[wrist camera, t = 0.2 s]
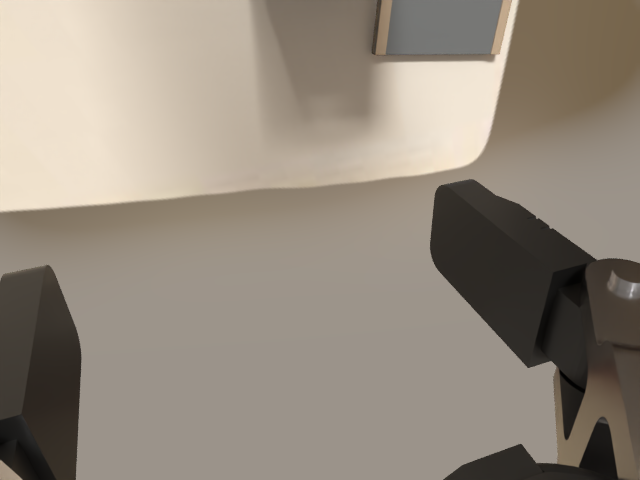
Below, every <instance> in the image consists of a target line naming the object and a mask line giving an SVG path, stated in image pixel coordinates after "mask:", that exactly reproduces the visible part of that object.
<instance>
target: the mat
mask: <svg viewBox="0 0 640 480" xmlns="http://www.w3.org/2000/svg"><path fill="white" fill-rule="evenodd" d="M511 2H512V0H378V2H377V11H376V20H375V29H374V38H373V47H372V53H373V54H375V55H407V54H500V50H501V45H502V41H503V37H504V32H505V28H506V24H507V19H508V15H509V11H510V6H511Z"/></svg>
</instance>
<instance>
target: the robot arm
mask: <svg viewBox="0 0 640 480" xmlns="http://www.w3.org/2000/svg"><path fill="white" fill-rule="evenodd" d="M430 250H431V255H432V259H433V262H434V264H435V266H436V268H437V269H438V271H439V272H440V273H441V274H442V275H443V276H444V277H445V278H446V279H447V280H448V282H449V283H450V284H451V285H452V286H453V287H454V288H455V289H456V290H457V291H458V292H459V293H460V295H461V296H462V297H463V298H464V299H465V300H466V301H467V302H468V303H469V304H470V305H471V307H472V308H473V309H474V310H475V311H476V312H477V313H478V314H479V315H480V316H481V317H482V318H483V320H484V321H485V322H486V323H487V324H488V325H489V326H490V327H491V328H492V329H493V330H494V331H495V332H496V334H497V335H498V336H499V337H500V338H501V339H502V340H503V341H504V342H505V343H506V344H507V346H509V348H510V349H511V350H512V351H513V352H514V353H515V354H516V355H517V356H518V357H519V358H520V359H521V361H522V362H523V363H524V364H525V365H526V366H527V367H528V368H530V367H533V366H536V365H539V364H542V363H546V362H549V361H552V362H553V363H554V364H555V365H556V366H557V367H556V370H555V373H554V377H553V384H554V401H555V417H556V432H557V433H556V434H557V452H558V457H557V464H550V463H536V462H535V461H534V460H533V458H532V457H531V456H530V454H529V453H528V452H527V451H526V449H525V448H524V447H523V445H522V444H519V445H516V446H514V447H511V448H508V449H505V450H503V451H500V452H497V453H494V454H491V455H489V456H486V457H484V458H481V459H478V460H475V461H473V462H470V463H467V464H464V465H462V466H461V467H459V468H458V469H457V470H455V471H454V472H453V473H451V474H450V475H449V476H447V477H446V478H445V479H444V480H640V263H637V262H634V261H630V260H625V259H617V258H607V259H600V260H596V259H595V258H593V257H592V256H591V255H589V254H588V253H586V252H585V251H584V250H582V249H581V248H580V247H578V246H577V245H575V244H574V243H572V242H571V241H570V240H568V239H567V238H565V237H564V236H562V235H561V234H560V233H559V232H557V231H556V230H554V229H550V228H549V226H548V225H547V224H546V223H544V222H543V221H542V220H540V219H536V216H535V215H533V214H532V213H530V212H529V211H528V210H526V209H525V208H524V207H522V206H521V205H519V204H517V203H515V202H512V201H509V200H507V199H504V198H502V197H499V196H496V195H495V194H493V193H492V192H491V191H489V190H488V189H486V188H485V187H484V186H482V185H481V184H480V183H478V182H477V181H475V180H472V179H469V180H464V181H459V182H454V183H450V184H445V185H441V186H439V187H438V188H437V190H436V193H435V200H434V209H433V219H432V231H431V241H430ZM80 377H81V348H80V343H79V337H78V333H77V330H76V327H75V324H74V322H73V319H72V317H71V314H70V312H69V309H68V307H67V304H66V302H65V299H64V296H63V294H62V291H61V289H60V286H59V284H58V281H57V278H56V276H55V273H54V271H53V270H52V268H51V267H50V266H49V265H45V266H40V267H35V268H31V269H26V270H21V271H16V272H12V273H7V274H4V275H3V276H2V278H1V281H0V480H76V461H77V459H76V458H77V440H78V419H79V398H80Z"/></svg>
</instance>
